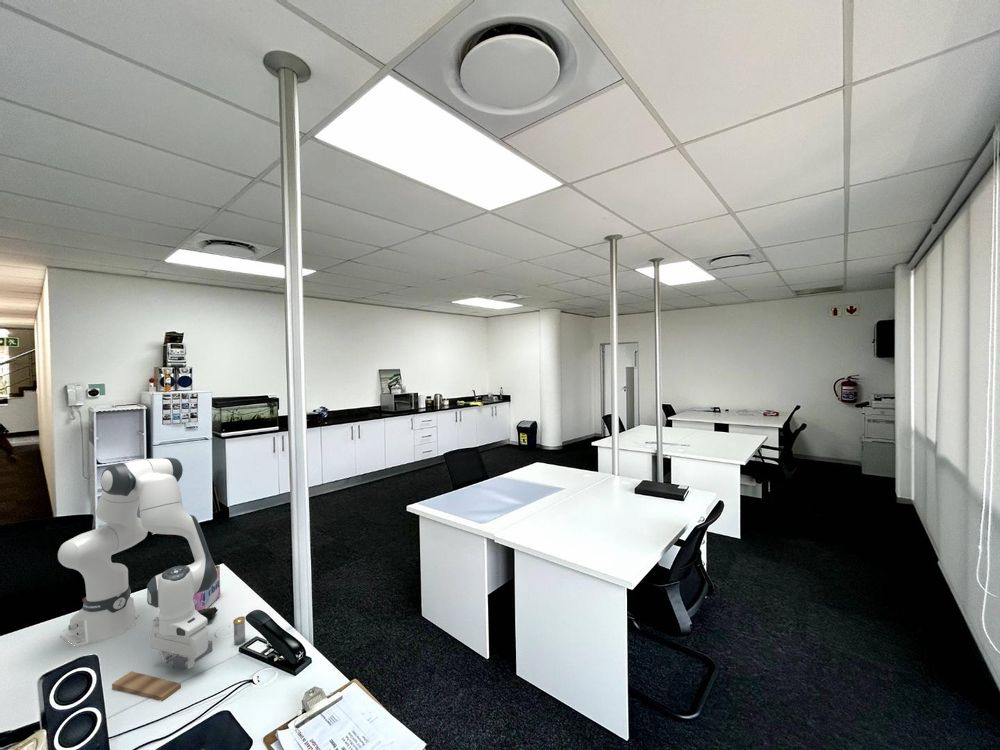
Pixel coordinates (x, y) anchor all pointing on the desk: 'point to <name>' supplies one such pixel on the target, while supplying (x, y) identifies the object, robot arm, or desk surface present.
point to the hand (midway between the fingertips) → (178, 664)
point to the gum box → (208, 594)
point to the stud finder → (181, 659)
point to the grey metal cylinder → (239, 630)
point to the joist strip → (146, 686)
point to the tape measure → (208, 612)
